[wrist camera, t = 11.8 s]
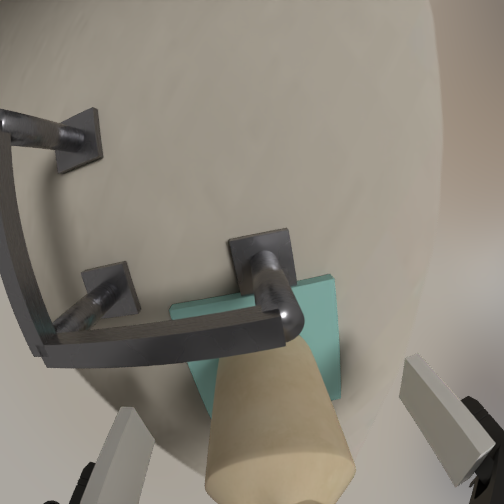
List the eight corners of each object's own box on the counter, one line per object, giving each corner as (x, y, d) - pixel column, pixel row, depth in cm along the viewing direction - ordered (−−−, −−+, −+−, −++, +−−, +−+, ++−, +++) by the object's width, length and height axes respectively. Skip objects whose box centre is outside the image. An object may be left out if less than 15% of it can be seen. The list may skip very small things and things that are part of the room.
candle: (221, 397, 16) (211, 538, 6) (215, 324, 15) (188, 491, 5) (307, 393, 16) (345, 527, 6) (316, 321, 15) (389, 471, 5)
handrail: (58, 127, 12) (-30, 109, 5) (253, 66, 12) (263, -22, 5) (101, 314, 15) (36, 385, 8) (295, 281, 15) (337, 360, 8)
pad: (172, 304, 15) (168, 310, 14) (330, 273, 15) (334, 278, 14) (212, 413, 17) (212, 421, 17) (337, 391, 17) (340, 398, 16)
